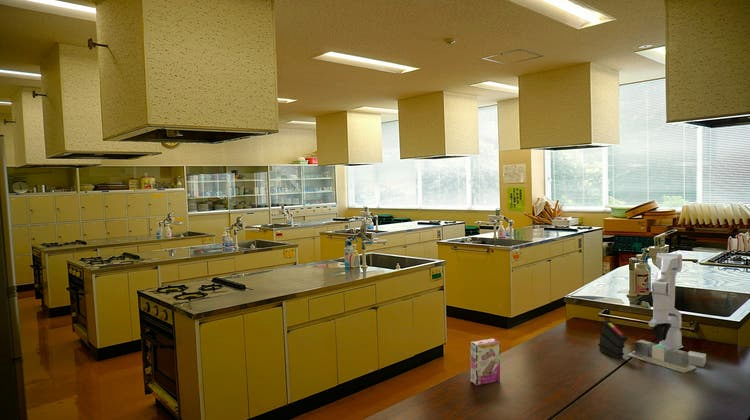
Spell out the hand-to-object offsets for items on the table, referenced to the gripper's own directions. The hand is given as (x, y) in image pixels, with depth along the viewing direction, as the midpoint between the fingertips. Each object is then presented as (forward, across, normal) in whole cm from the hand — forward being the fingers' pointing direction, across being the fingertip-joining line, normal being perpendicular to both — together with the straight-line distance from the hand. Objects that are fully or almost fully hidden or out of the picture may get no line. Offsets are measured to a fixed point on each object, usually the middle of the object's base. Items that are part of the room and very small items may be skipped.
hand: (660, 340), depth 208 cm
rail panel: (+9, 0, 0) cm, 9 cm away
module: (+8, 0, 0) cm, 8 cm away
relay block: (+10, +10, -9) cm, 17 cm away
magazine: (+10, -10, +16) cm, 21 cm away
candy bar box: (+10, -76, +26) cm, 81 cm away
